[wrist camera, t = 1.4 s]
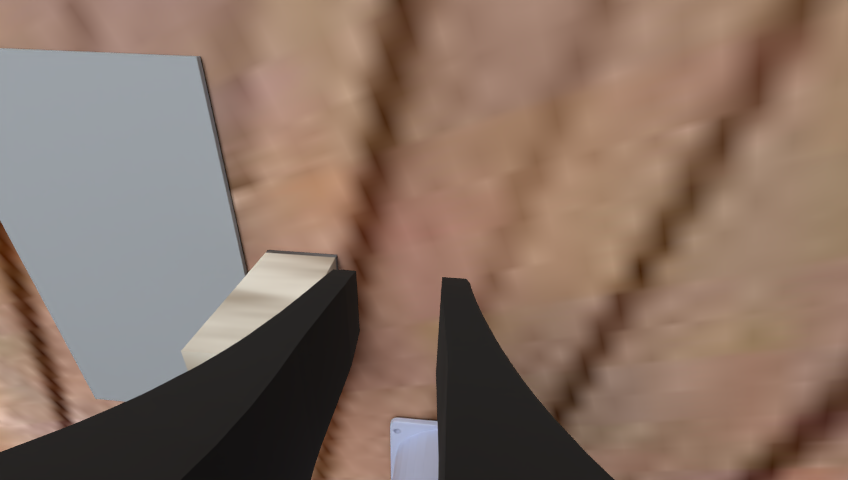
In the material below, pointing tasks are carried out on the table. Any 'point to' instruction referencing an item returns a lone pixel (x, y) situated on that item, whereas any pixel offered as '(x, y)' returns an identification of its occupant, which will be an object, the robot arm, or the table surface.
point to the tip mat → (117, 206)
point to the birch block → (257, 300)
